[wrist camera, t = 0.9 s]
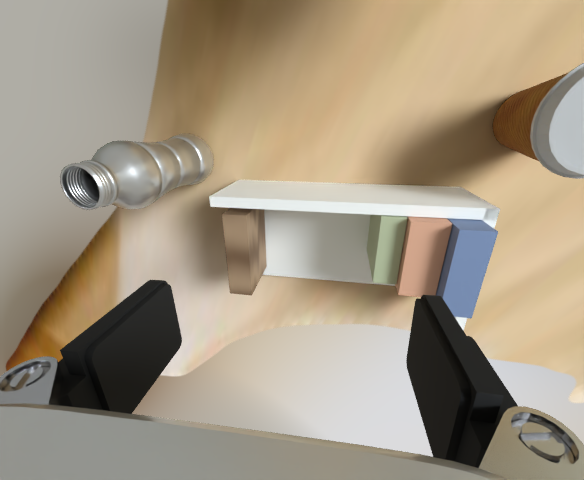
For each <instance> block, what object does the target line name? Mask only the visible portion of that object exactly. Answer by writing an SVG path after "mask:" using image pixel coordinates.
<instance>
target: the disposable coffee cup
mask: <svg viewBox="0 0 584 480" xmlns="http://www.w3.org/2000/svg"><path fill="white" fill-rule="evenodd" d="M493 132H494V136H495V137H496V139H497V140H498V141H499V142H500V143H501V144H502V145H504V146H506V147H508V148H511V149H513V150H515V151H517V152H520V153H522V154H524V155H526V156H528V157H530V158H533V159H535V160H537V161H540V163H541V164H542V165H543V166H544V167H545V168H547V169H548V170H549V171H551V172H553V173H555V174H557V175H560V176H563V177H569V178H584V63H582V64H581V65H579V66H578V67H576V68H575V69H573V70H572V71H570V72H569V73H567V74H564V75H562V76H559V77H557V78H554V79H551V80H549V81H546V82H544V83H541V84H539V85H536V86H533V87H531V88H529V89H526V90H523V91H520V92H518V93H516V94H514V95H512V96H511V97H510V98H508V99H507V100H506V101H505V102H504V103H503V104H502V105H501V107H500V108H499V109H498V111H497V113H496V115H495V118H494V122H493Z"/></svg>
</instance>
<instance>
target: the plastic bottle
mask: <svg viewBox="0 0 584 480" xmlns="http://www.w3.org/2000/svg"><path fill="white" fill-rule="evenodd" d="M213 165H214V159H213V154H212V151H211V149H210V147H209V146H208V144H207V143H206V142H205V141H204V140H203V139H201V138H200V137H198V136H195V135H192V134H186V133H183V134H178V135H176V136H173V137H171V138H169V139H168V140H164V141H161V142H151V143H142V142H131V141H113V142H110V143H107V144H106V145H104V146H103V147H101V148H100V149H99V150H97V152H96V153H95V155H94V156H93V158H92V160H87V161H82V162H80V163H75V164H70V165H68V166H66V167H64V169H63V170H62V172H61V176H60V182H61V186H62V189H63V191H64V193H65V195H66V196H67V198H68V199H69V200H70V201H71V202H72V203H73V204H75V205H76V206H78V207H80V208H82V209H87V210H88V209H95V208H98V207H105V206H108V205H111V204H112V205H115V206H118V207H120V208H123V209H141V208H145V207H146V206H148V205H150V204H152V203H153V202H155V201H156V200H157V199H159V198H160V197H161V196H162V195H164V194H165V193H167V192H169V191H170V190H172V189H174V188H176V187H180V186H184V185H193V184H198V183H201V182H202V181H204V180H205V179H206V178H207V177H208V176H209V175H210V173H211V172H212V169H213Z"/></svg>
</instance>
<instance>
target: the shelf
mask: <svg viewBox="0 0 584 480" xmlns="http://www.w3.org/2000/svg"><path fill="white" fill-rule="evenodd" d="M209 199H210V207H226V208H247V209H264V214H265V239H266V264H267V267H266V269H265V271H264V273H263V275H273V276H285V277H297V278H308V279H320V280H332V281H344V282H356V283H367V284H379V285H391V286H396V289H397V292H398V295H404V296H415V297H422V295H437V296H441V297H442V298H443V300H444V301H445V303H446V304H447V306H448V308H449V309H450V311H451V312H452V314H453V315H454V317H455V319H456V320H457V322H458V323H459V325H460V326H461V328H462V330H464V327H465V323H466V320H467V318H472V315H473V312H474V308H475V305H476V302H477V299H478V295H479V292H480V289H481V286H482V282H483V279H484V276H485V273H486V269H487V266H488V263H489V260H490V257H491V253H492V250H493V247H494V244H495V240H496V237H497V234H498V231H496V230H495V229H494V227H495V224H496V220H497V217H498V214H499V211H500V209H499V208H497V207H496V206H494V205H492V204H490V203H488V202H487V201H485V200H483V199H481V198H480V197H478V196H476V195H474V194H472V193H471V192H469V191H467V190H465V189H463V188H462V187H449V186H418V185H387V184H357V183H326V182H296V181H265V180H237V181H236V182H234V183H232V184H230V185H229V186H227V187H225V188H223V189H222V190H220V191H218V192H216V193H214V194H213V195H211V196H209Z"/></svg>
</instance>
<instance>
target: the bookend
mask: <svg viewBox="0 0 584 480" xmlns="http://www.w3.org/2000/svg"><path fill="white" fill-rule="evenodd" d="M222 219H223V229H224V239H225V249H226V258H227V268H228V278H229V288H230V293H234V294H244V295H252V294H253V292H254V290H255V288H256V286H257V284H258V282H259V280H260V278H261V276H262V275H263V273H264V271H265V269H266V267H267V264H266V239H265V214H264V209H247V208H230V209H228V210H227V211H226V212H225V213H223V214H222Z"/></svg>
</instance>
